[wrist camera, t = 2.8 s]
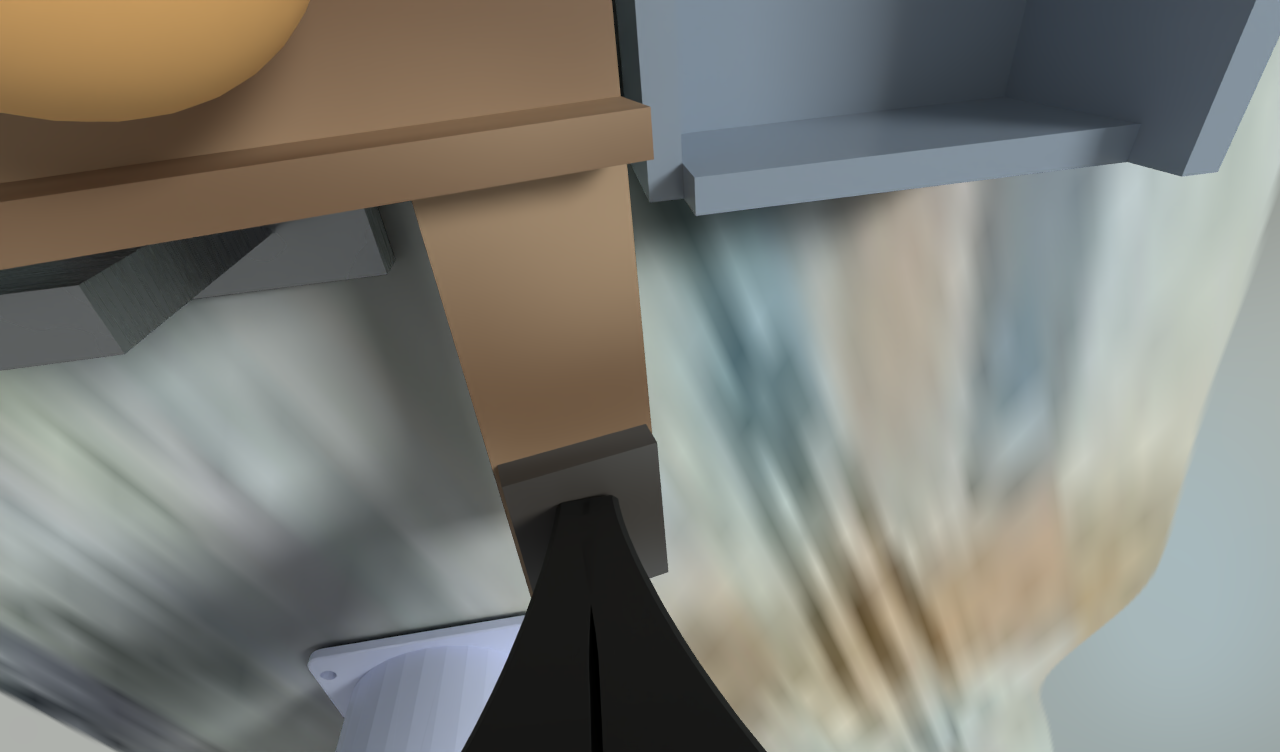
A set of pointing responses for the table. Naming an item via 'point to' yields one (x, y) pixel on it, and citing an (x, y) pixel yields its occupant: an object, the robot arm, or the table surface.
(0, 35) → the ball
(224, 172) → the lever
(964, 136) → the blue-grey open box
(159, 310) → the lever stand
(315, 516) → the table surface
